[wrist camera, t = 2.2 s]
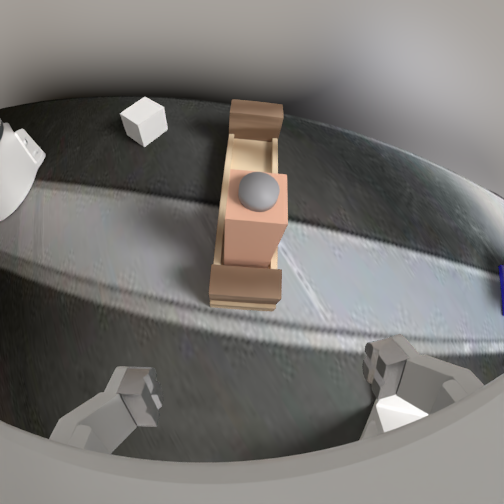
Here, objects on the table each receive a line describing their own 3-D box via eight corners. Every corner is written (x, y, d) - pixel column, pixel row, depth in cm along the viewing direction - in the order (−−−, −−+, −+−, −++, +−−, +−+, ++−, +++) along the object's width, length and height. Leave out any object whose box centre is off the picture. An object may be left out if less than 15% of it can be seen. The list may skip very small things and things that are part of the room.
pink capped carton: (266, 270, 31) (290, 218, 20) (223, 266, 30) (225, 212, 19) (267, 232, 32) (289, 167, 21) (227, 228, 32) (230, 161, 21)
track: (272, 311, 31) (285, 298, 25) (210, 307, 31) (207, 293, 24) (274, 135, 41) (282, 102, 35) (230, 130, 41) (232, 96, 34)
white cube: (144, 147, 38) (137, 125, 34) (126, 135, 39) (119, 113, 35) (168, 129, 40) (164, 107, 36) (149, 118, 41) (144, 96, 36)
